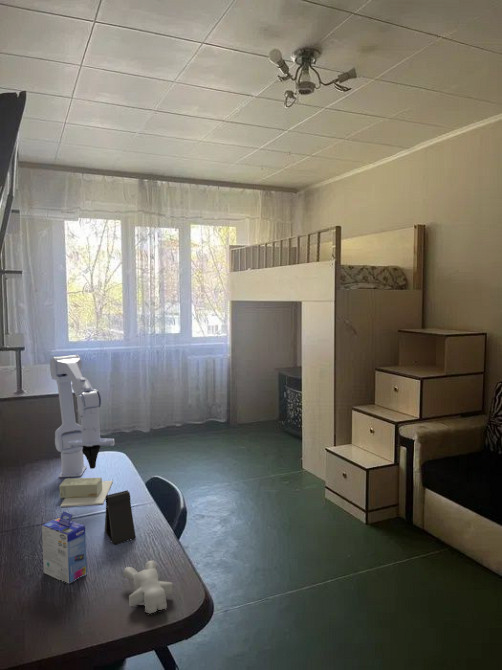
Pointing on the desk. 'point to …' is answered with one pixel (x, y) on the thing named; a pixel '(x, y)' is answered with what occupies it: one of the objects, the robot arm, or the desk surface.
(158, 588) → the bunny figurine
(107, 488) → the mat
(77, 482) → the skincare box
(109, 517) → the phone stand
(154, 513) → the desk surface
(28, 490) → the desk surface
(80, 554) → the ink cartridge box
